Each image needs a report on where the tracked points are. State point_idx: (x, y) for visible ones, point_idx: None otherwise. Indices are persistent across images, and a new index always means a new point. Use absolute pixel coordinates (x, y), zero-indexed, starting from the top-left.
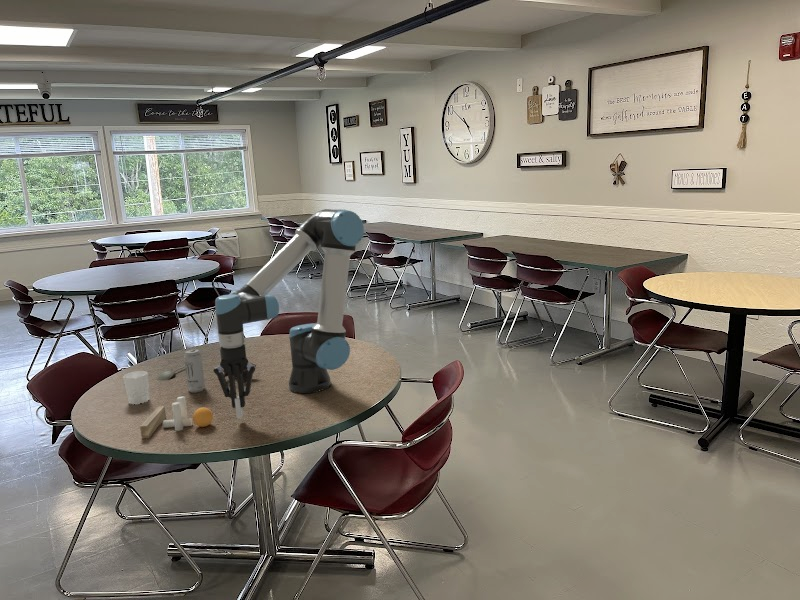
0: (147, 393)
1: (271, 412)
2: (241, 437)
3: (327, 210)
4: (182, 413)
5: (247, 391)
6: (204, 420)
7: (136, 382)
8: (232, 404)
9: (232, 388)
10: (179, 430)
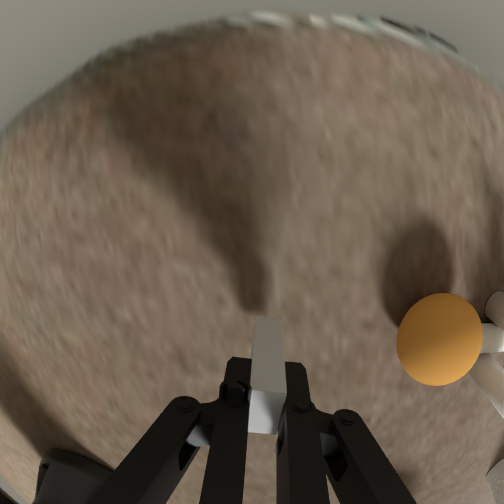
0: (498, 479)
1: (145, 380)
2: (242, 132)
3: None
4: (498, 369)
5: (170, 419)
6: (439, 298)
7: None
8: (304, 377)
9: (300, 462)
10: (496, 292)
